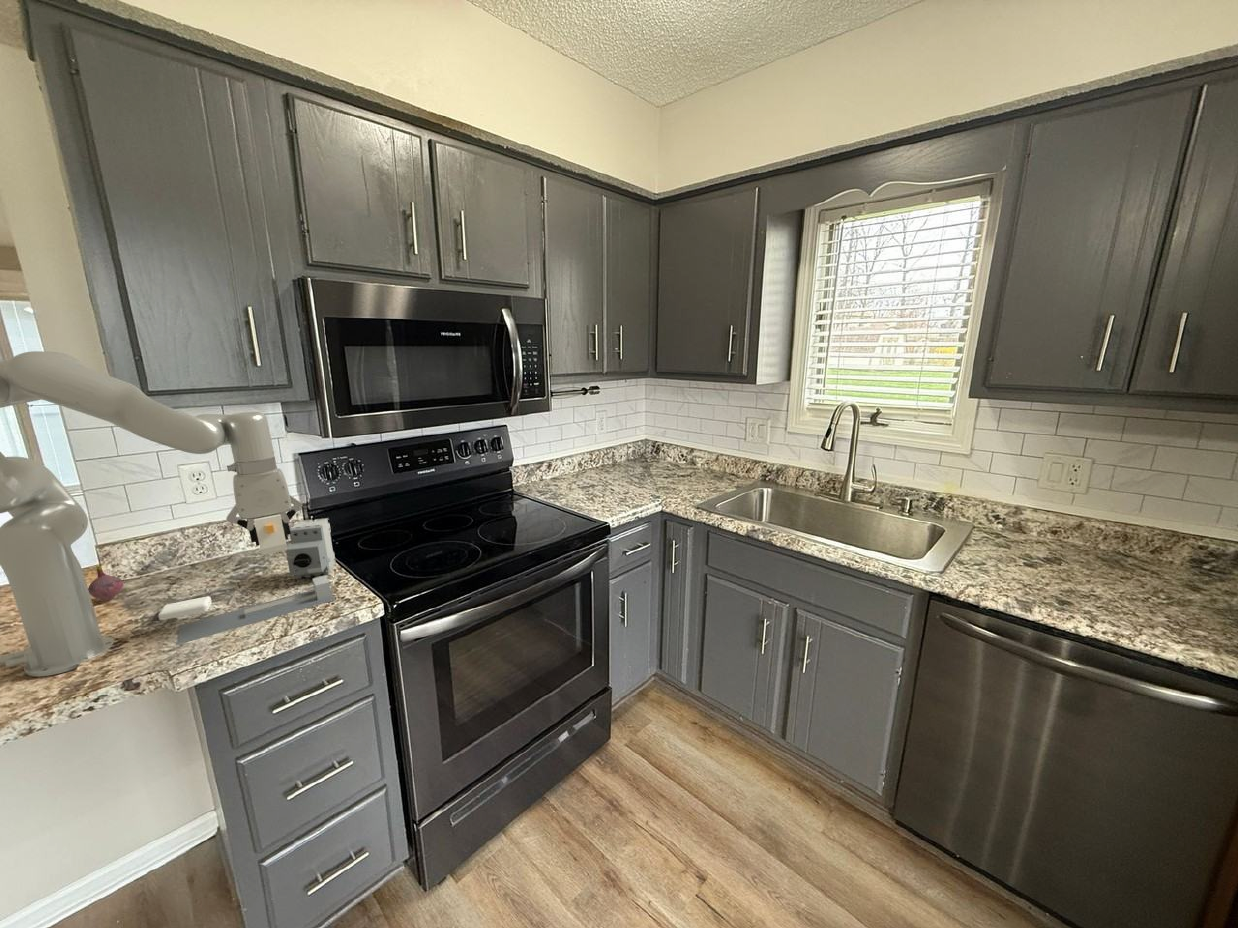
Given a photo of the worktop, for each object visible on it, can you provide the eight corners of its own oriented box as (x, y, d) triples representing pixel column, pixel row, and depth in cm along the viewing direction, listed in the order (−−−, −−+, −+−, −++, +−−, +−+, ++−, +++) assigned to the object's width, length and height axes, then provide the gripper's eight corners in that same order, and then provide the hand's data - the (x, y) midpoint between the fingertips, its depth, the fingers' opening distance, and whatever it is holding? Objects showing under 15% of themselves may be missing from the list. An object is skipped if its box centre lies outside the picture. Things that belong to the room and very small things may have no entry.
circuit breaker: (290, 592, 130) (280, 538, 126) (307, 569, 143) (299, 520, 140) (322, 587, 132) (313, 535, 128) (336, 566, 145) (328, 517, 142)
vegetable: (89, 602, 126) (79, 566, 124) (123, 592, 131) (113, 557, 128) (95, 609, 122) (84, 571, 120) (129, 598, 127) (119, 563, 125)
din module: (262, 556, 112) (254, 521, 110) (259, 545, 119) (252, 512, 117) (288, 550, 115) (281, 516, 113) (284, 540, 122) (277, 507, 120)
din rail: (245, 618, 115) (244, 613, 115) (245, 614, 117) (244, 609, 117) (319, 597, 124) (318, 593, 124) (317, 594, 126) (317, 590, 126)
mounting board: (177, 648, 105) (176, 644, 105) (180, 629, 113) (179, 625, 113) (336, 603, 123) (335, 599, 123) (329, 588, 131) (328, 585, 131)
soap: (213, 605, 124) (210, 594, 123) (208, 615, 119) (206, 604, 119) (166, 615, 120) (163, 603, 119) (159, 625, 115) (156, 614, 114)
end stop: (317, 600, 123) (315, 585, 122) (314, 593, 127) (312, 578, 126) (331, 596, 125) (329, 582, 124) (328, 589, 129) (325, 575, 128)
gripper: (208, 476, 105) (227, 556, 109) (302, 463, 115) (315, 536, 119) (208, 470, 110) (226, 546, 115) (298, 458, 120) (311, 528, 125)
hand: (272, 540), depth 117 cm, fingers closed on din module, 5 cm apart
